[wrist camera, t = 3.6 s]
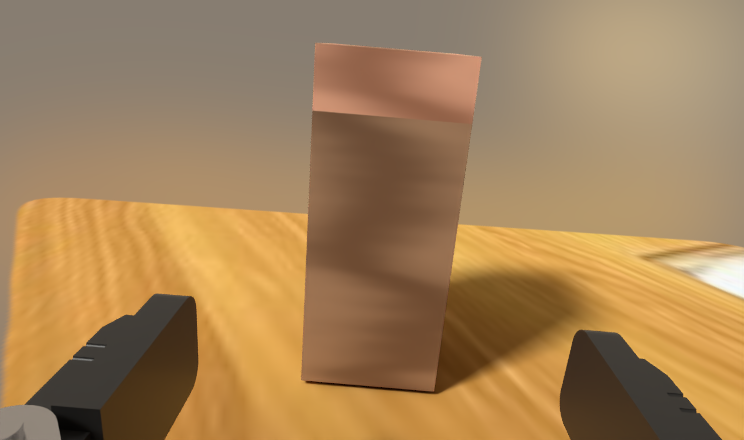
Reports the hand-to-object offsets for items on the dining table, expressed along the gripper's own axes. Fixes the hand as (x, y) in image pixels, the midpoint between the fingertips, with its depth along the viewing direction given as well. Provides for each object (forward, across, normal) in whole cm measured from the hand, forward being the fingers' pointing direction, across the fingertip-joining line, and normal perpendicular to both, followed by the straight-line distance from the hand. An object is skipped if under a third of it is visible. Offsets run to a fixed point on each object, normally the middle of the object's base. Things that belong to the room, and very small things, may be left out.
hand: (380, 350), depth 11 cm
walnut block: (+9, 0, +6) cm, 11 cm away
